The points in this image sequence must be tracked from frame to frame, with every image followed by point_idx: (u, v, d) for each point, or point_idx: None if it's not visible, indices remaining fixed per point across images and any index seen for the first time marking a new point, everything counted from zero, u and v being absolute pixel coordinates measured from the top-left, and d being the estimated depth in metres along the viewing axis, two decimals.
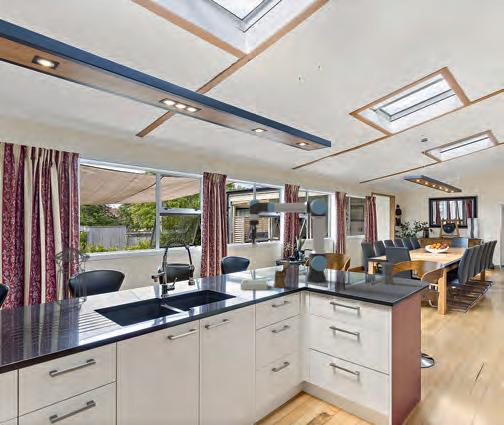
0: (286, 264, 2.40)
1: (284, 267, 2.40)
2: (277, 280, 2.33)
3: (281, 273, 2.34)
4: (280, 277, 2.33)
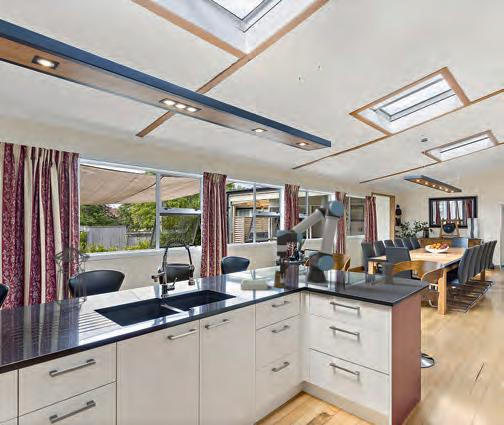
0: (286, 264, 2.41)
1: (284, 267, 2.40)
2: (277, 280, 2.33)
3: None
4: None
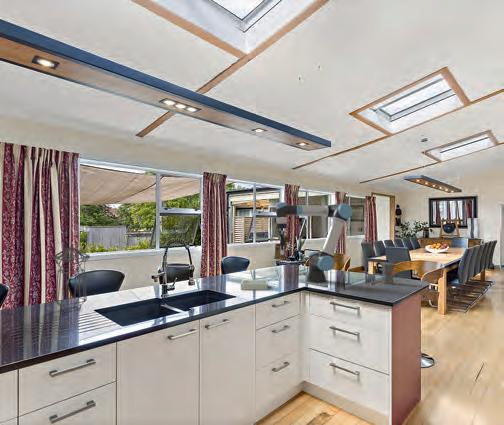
0: (286, 237, 2.42)
1: (284, 239, 2.41)
2: (277, 252, 2.35)
3: None
4: None
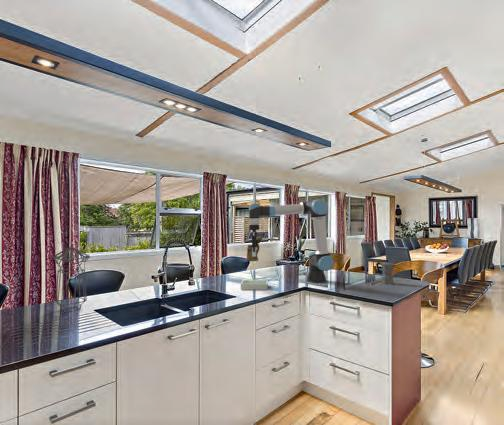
0: (259, 238, 2.38)
1: (257, 241, 2.37)
2: (249, 253, 2.31)
3: None
4: None
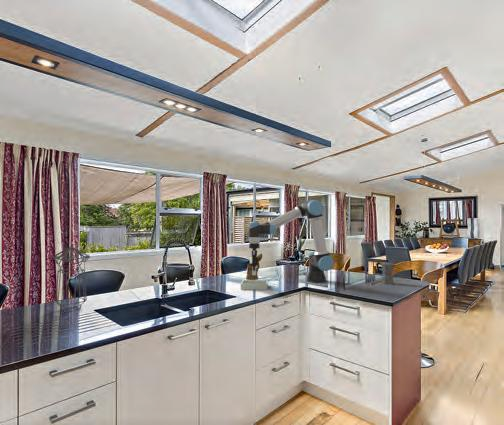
0: (259, 256, 2.38)
1: (257, 259, 2.37)
2: (249, 272, 2.31)
3: None
4: None
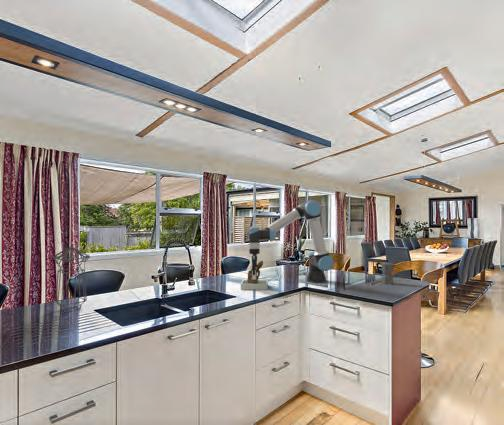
0: (260, 263, 2.37)
1: (258, 266, 2.37)
2: (249, 280, 2.31)
3: None
4: None
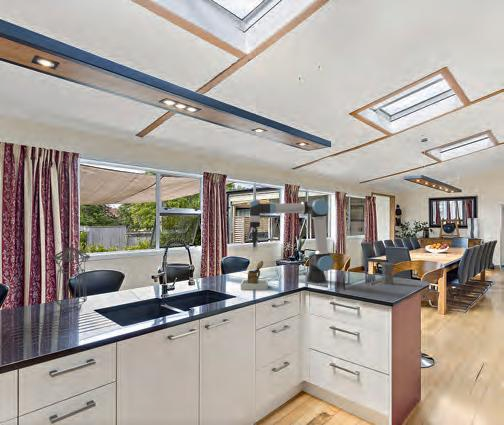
0: (260, 264, 2.38)
1: (258, 267, 2.37)
2: (249, 280, 2.31)
3: (253, 273, 2.31)
4: (252, 277, 2.31)
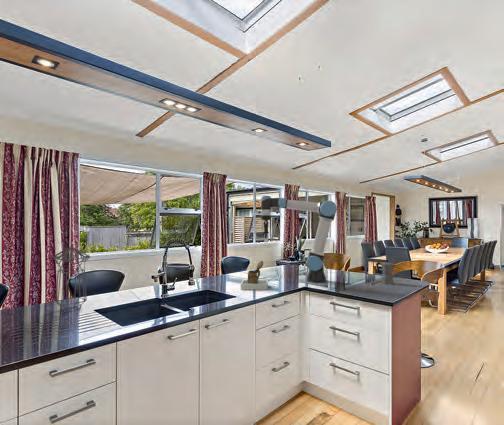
0: (260, 264, 2.38)
1: (258, 267, 2.37)
2: (249, 280, 2.31)
3: (253, 273, 2.31)
4: (252, 277, 2.31)
